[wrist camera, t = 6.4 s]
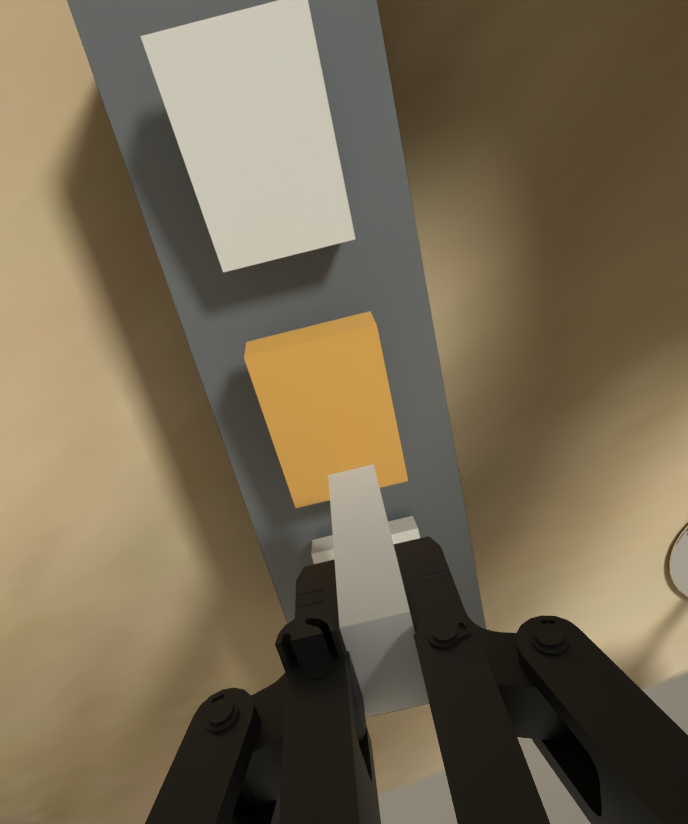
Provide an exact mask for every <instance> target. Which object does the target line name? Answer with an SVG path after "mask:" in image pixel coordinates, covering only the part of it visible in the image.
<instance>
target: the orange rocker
mask: <svg viewBox="0 0 688 824" xmlns="http://www.w3.org/2000/svg"><path fill="white" fill-rule="evenodd" d="M244 360H245V363H246V365H247V368H248V371H249V374H250V377H251V380H252V383H253V386H254V389H255V392H256V394H257V397H258V400H259V403H260V406H261V409H262V412H263V415H264V418H265V421H266V424H267V426H268V429H269V432H270V435H271V438H272V441H273V444H274V447H275V450H276V453H277V456H278V458H279V461H280V464H281V467H282V470H283V473H284V476H285V479H286V482H287V485H288V487H289V490H290V493H291V496H292V499H293V502H294V505H295V508H299V507H303V506H308V505H312V504H316V503H320V502H324V501H328V500H330V492H329V479H328V475H330V474H335V473H339V472H343V471H347V470H351V469H356V468H360V467H364V466H368V465H372V464H374V467H375V471H376V475H377V480H378V484H379V488H382V487H386V486H390V485H394V484H398V483H402V482H406V481H408V477H407V472H406V467H405V462H404V457H403V452H402V447H401V442H400V437H399V432H398V427H397V422H396V418H395V413H394V408H393V403H392V398H391V393H390V388H389V383H388V378H387V373H386V368H385V363H384V358H383V353H382V348H381V343H380V338H379V333H378V329H377V324H376V322H375V320H374V318H373V316H372V313H371V311H369V312H365V313H361V314H357V315H353V316H349V317H345V318H341V319H337V320H333V321H329V322H325V323H321V324H317V325H313V326H309V327H305V328H301V329H297V330H293V331H288V332H284V333H280V334H276V335H272V336H268V337H264V338H260V339H256V340H252V341H248V342H246V348H245V354H244Z"/></svg>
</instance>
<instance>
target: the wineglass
mask: <svg viewBox="0 0 688 824" xmlns="http://www.w3.org/2000/svg"><path fill="white" fill-rule="evenodd" d="M669 572H670V576H671V579H672V582H673V583H674V585H675V586H676V588H677V589H678V590H679V591H680V592H681V593H683V594H684V595H685V596H687V597H688V526H687V527H686V528H685V529H684V530H683V531H682V532H681V534H680V535H679V537H678V539H677V540H676V542H675V544H674V546H673V549H672V551H671V554H670V560H669Z"/></svg>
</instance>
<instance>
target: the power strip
mask: <svg viewBox="0 0 688 824" xmlns="http://www.w3.org/2000/svg"><path fill="white" fill-rule="evenodd" d="M274 1H278V0H67V2H68V5H69V7H70V10H71V13H72V16H73V19H74V21H75V24H76V27H77V30H78V33H79V36H80V38H81V41H82V44H83V47H84V50H85V53H86V55H87V58H88V61H89V64H90V67H91V70H92V72H93V75H94V78H95V81H96V84H97V86H98V89H99V92H100V95H101V98H102V101H103V103H104V106H105V109H106V112H107V115H108V118H109V120H110V123H111V126H112V129H113V132H114V135H115V137H116V140H117V143H118V146H119V149H120V152H121V154H122V157H123V160H124V163H125V166H126V168H127V171H128V174H129V177H130V180H131V183H132V185H133V188H134V191H135V194H136V197H137V200H138V202H139V205H140V208H141V211H142V214H143V217H144V219H145V222H146V225H147V228H148V231H149V233H150V236H151V239H152V242H153V245H154V248H155V250H156V253H157V256H158V259H159V262H160V265H161V267H162V270H163V273H164V276H165V279H166V282H167V284H168V287H169V290H170V293H171V296H172V299H173V301H174V304H175V307H176V310H177V313H178V315H179V318H180V321H181V324H182V327H183V330H184V332H185V335H186V338H187V341H188V344H189V347H190V349H191V352H192V355H193V358H194V361H195V364H196V366H197V369H198V372H199V375H200V378H201V380H202V383H203V386H204V389H205V392H206V395H207V397H208V400H209V403H210V406H211V409H212V412H213V414H214V417H215V420H216V423H217V426H218V429H219V431H220V434H221V437H222V440H223V443H224V446H225V448H226V451H227V454H228V457H229V460H230V462H231V465H232V468H233V471H234V474H235V477H236V479H237V482H238V485H239V488H240V491H241V494H242V496H243V499H244V502H245V505H246V508H247V511H248V513H249V516H250V519H251V522H252V525H253V527H254V530H255V533H256V536H257V539H258V542H259V544H260V547H261V550H262V553H263V556H264V559H265V561H266V564H267V567H268V570H269V573H270V576H271V578H272V581H273V584H274V587H275V590H276V592H277V595H278V598H279V601H280V604H281V607H282V609H283V612H284V615H285V618H286V621H287V624H288V623H289V622H291V621H292V620H294V619H295V610H296V608H295V598H296V580H297V578H298V576H299V574H300V572H301V571H302V569H303V567H304V566H308V565H313V564H314V563H313V559H312V555H311V550H312V540H314V539H319V538H323V537H327V536H331V535H333V533H332V519H331V506H330V500H328V501H324V502H320V503H316V504H312V505H308V506H303V507H299V508H295V505H294V502H293V499H292V496H291V493H290V490H289V487H288V485H287V482H286V479H285V476H284V473H283V470H282V467H281V464H280V461H279V458H278V456H277V453H276V450H275V447H274V444H273V441H272V438H271V435H270V432H269V429H268V426H267V424H266V421H265V418H264V415H263V412H262V409H261V406H260V403H259V400H258V397H257V394H256V392H255V389H254V386H253V383H252V380H251V377H250V374H249V371H248V368H247V365H246V363H245V360H244V354H245V348H246V342H248V341H252V340H256V339H260V338H264V337H268V336H272V335H276V334H280V333H284V332H288V331H293V330H297V329H301V328H305V327H309V326H313V325H317V324H321V323H325V322H329V321H333V320H337V319H341V318H345V317H349V316H353V315H357V314H361V313H365V312H369V311H371V313H372V316H373V318H374V320H375V322H376V324H377V329H378V333H379V338H380V343H381V348H382V353H383V358H384V363H385V368H386V373H387V378H388V383H389V388H390V393H391V398H392V403H393V408H394V413H395V418H396V422H397V427H398V432H399V437H400V442H401V447H402V452H403V457H404V462H405V467H406V472H407V477H408V481H406V482H402V483H398V484H394V485H390V486H386V487H382V488H380V492H381V496H382V500H383V504H384V508H385V512H386V516H387V520H388V522H389V521H393V520H397V519H401V518H405V517H410V516H413V517H414V520H415V522H416V525H417V527H418V530H419V535H420V538H423V537H427V536H429V537H431V538H432V539H433V540H434V541H435V542H437V543H438V544H439V545H440V546H441V548H442V551H443V553H444V556H445V559H446V562H447V564H448V567H449V569H450V573H451V575H452V577H453V580H454V582H455V585H456V588H457V590H458V593H459V596H460V598H461V601H462V604H463V606H464V609H465V612H466V613H467V615H468V617H469V618H470V619H471V620H472V621H473V622H474V623H475V624H477V625H478V626H480V627H482V628H484V629H486V626H485V621H484V615H483V609H482V603H481V598H480V592H479V586H478V580H477V575H476V569H475V563H474V557H473V552H472V546H471V540H470V534H469V528H468V523H467V517H466V511H465V505H464V500H463V494H462V488H461V482H460V477H459V471H458V465H457V459H456V454H455V448H454V442H453V436H452V431H451V425H450V419H449V413H448V408H447V402H446V396H445V390H444V385H443V379H442V373H441V367H440V362H439V356H438V350H437V344H436V339H435V333H434V327H433V321H432V316H431V310H430V304H429V298H428V293H427V287H426V281H425V275H424V270H423V264H422V258H421V252H420V247H419V241H418V235H417V229H416V223H415V218H414V212H413V206H412V200H411V195H410V189H409V183H408V177H407V172H406V166H405V160H404V154H403V149H402V143H401V137H400V131H399V126H398V120H397V114H396V108H395V103H394V97H393V91H392V85H391V80H390V74H389V68H388V62H387V57H386V51H385V45H384V39H383V34H382V28H381V22H380V16H379V11H378V5H377V0H308V3H309V8H310V13H311V18H312V23H313V28H314V33H315V38H316V43H317V48H318V53H319V58H320V63H321V68H322V73H323V78H324V83H325V89H326V94H327V99H328V104H329V109H330V114H331V119H332V124H333V129H334V134H335V139H336V144H337V149H338V154H339V159H340V164H341V169H342V174H343V179H344V184H345V189H346V194H347V199H348V204H349V209H350V214H351V219H352V224H353V229H354V234H355V240H351V241H347V242H343V243H339V244H335V245H331V246H327V247H323V248H319V249H315V250H311V251H307V252H303V253H299V254H295V255H291V256H287V257H283V258H279V259H275V260H271V261H267V262H263V263H259V264H255V265H251V266H247V267H243V268H239V269H235V270H231V271H227V272H223V271H222V268H221V265H220V262H219V259H218V256H217V253H216V251H215V248H214V245H213V242H212V239H211V236H210V233H209V231H208V228H207V225H206V222H205V219H204V216H203V214H202V211H201V208H200V205H199V202H198V199H197V196H196V194H195V191H194V188H193V185H192V182H191V179H190V176H189V174H188V171H187V168H186V165H185V162H184V159H183V156H182V154H181V151H180V148H179V145H178V142H177V139H176V137H175V134H174V131H173V128H172V125H171V122H170V119H169V117H168V114H167V111H166V108H165V105H164V102H163V99H162V97H161V94H160V91H159V88H158V85H157V82H156V79H155V77H154V74H153V71H152V68H151V65H150V62H149V60H148V57H147V54H146V51H145V48H144V45H143V42H142V40H141V37H140V36H143V35H147V34H151V33H155V32H159V31H162V30H166V29H170V28H174V27H178V26H182V25H185V24H189V23H193V22H197V21H201V20H205V19H208V18H212V17H216V16H220V15H224V14H228V13H231V12H235V11H239V10H243V9H247V8H251V7H254V6H258V5H262V4H266V3H270V2H274Z"/></svg>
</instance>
